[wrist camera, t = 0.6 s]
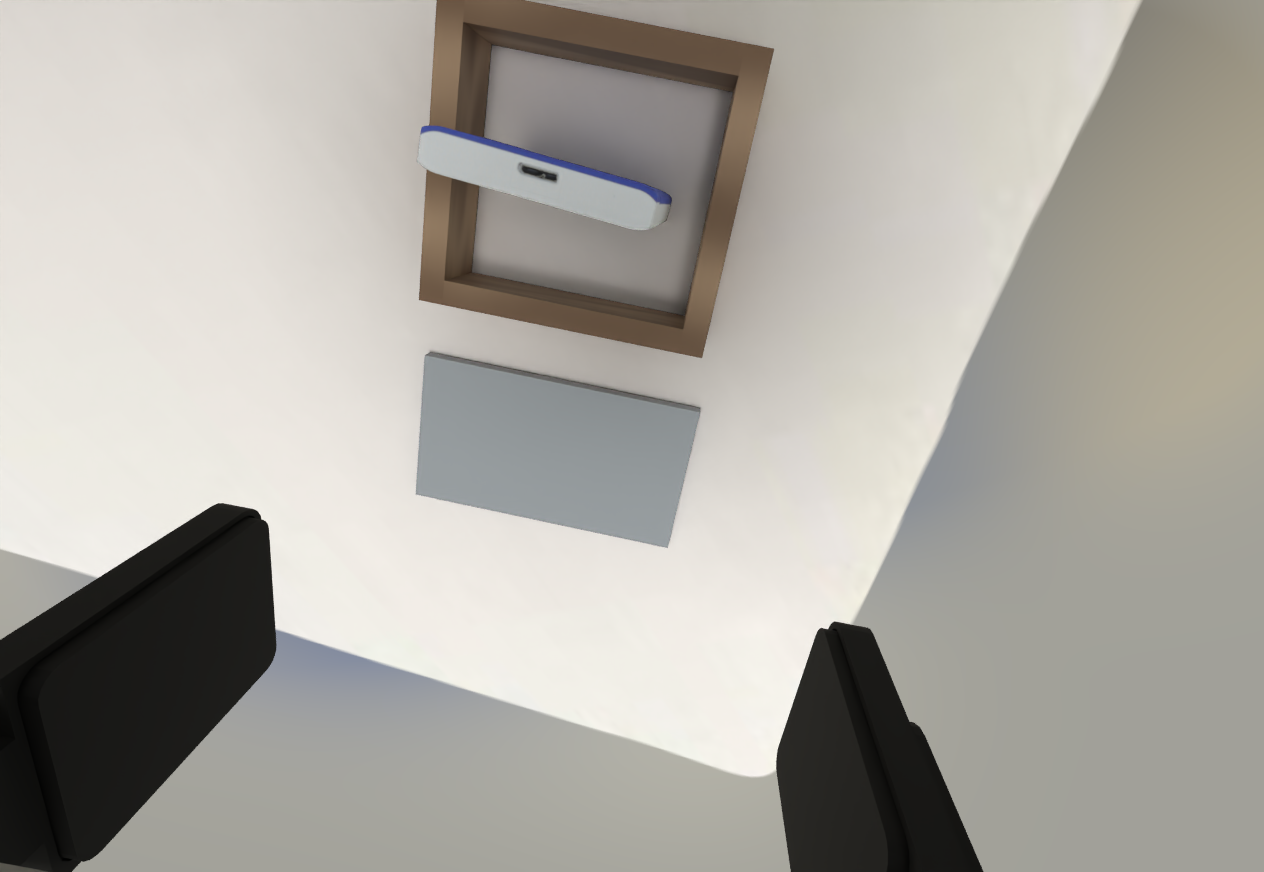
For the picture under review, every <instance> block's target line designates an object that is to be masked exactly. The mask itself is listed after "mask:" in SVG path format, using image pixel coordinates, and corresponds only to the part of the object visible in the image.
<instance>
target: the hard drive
mask: <svg viewBox="0 0 1264 872" xmlns="http://www.w3.org/2000/svg"><path fill="white" fill-rule="evenodd" d="M417 162H418V163H419V164H420V165H421V166H423V167H424V168H425V169H427V170H429V171H431V172H433V173H436V174H439V175H443V176H446V177H450V178H453V179H457V180H461V181H464V182H468V183H471V184H475V185H478V186H482V187H485V188H489V189H492V190H496V191H499V192H503V193H507V194H510V195H514V196H517V197H520V198H524V199H527V200H531V201H534V202H538V203H541V204H545V205H548V206H552V207H555V208H559V209H562V210H565V211H569V212H572V213H576V214H579V215H583V216H586V217H590V218H593V219H597V220H600V221H604V222H607V223H611V224H614V225H617V226H621V227H624V228H628V229H632V230H647V229H652V228H653V227H655V226H657V225H659V224H661V223H663V222H665V221H666V220H667V217H668V213H669V209H670V206H671V202H672V198H671V197H670V195H668V194H667V193H665V192H663V191H661V190H659V189H656V188H653V187H651V186H648V185H646V184H643V183H640V182H636V181H633V180H630V179H626V178H623V177H619V176H615V175H612V174H608V173H605V172H601V171H598V170H594V169H591V168H588V167H584V166H581V165H577V164H573V163H570V162H566V161H563V160H559V159H555V158H552V157H548V156H545V155H541V154H538V153H534V152H531V151H528V150H525V149H522V148H518V147H515V146H511V145H508V144H504V143H501V142H498V141H494V140H491V139H487V138H483V137H479V136H476V135H472V134H468V133H464V132H460V131H457V130H453V129H449V128H445V127H441V126H424V127H422V129H421V134H420V142H419V150H418V158H417Z"/></svg>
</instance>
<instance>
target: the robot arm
mask: <svg viewBox="0 0 1264 872" xmlns="http://www.w3.org/2000/svg"><path fill="white" fill-rule="evenodd" d="M275 652H276V632H275V617H274V601H273V586H272V570H271V555H270V540H269V528H268V524H267V523H266V521H264V520H261V516H260V514H259V513H258V511H256V510H254V509H250V508H245V507H239V506H234V505H229V504H224V503H218V504H216V505H214V506H212V507H210V508H208V509H207V510H205V511H204V512H202V513H200V514H199V515H197V516H196V517H194V518H193V519H191V520H189V521H188V522H186V523H185V524H183V525H181V526H180V527H178V528H177V529H175V530H174V531H172V532H170V533H169V534H167V535H166V536H164V537H162V538H161V539H159V540H158V541H156V542H155V543H153V544H151V545H150V546H148V547H147V548H145V549H143V550H142V551H140V552H139V553H137V554H136V555H134V556H132V557H131V558H129V559H128V560H126V561H124V562H123V563H121V564H120V565H118V566H117V567H115V568H113V569H112V570H110V571H109V572H107V573H105V574H104V575H102V576H101V577H99V578H98V579H96V580H94V581H93V582H91V583H90V584H88V585H86V586H85V587H83V588H82V589H80V590H79V591H77V592H75V593H74V594H72V595H71V596H69V597H68V598H66V599H64V600H63V601H61V602H60V603H58V604H56V605H55V606H53V607H52V608H50V609H49V610H47V611H46V612H44V613H42V614H41V615H39V616H37V617H36V618H34V619H33V620H31V621H29V622H28V623H26V624H25V625H23V626H22V627H20V628H18V629H17V630H15V631H14V632H12V633H11V634H9V635H7V636H6V637H5V638H3V639H2V640H0V872H72V871H73V870H74V869H75V867H76V866H77V865H78V864H79V863H80V862H81V861H83V862H84V861H87V860H90V859H92V858H93V857H95V856H96V855H97V854H98V853H99V852H100V851H102V850H103V849H104V847H105V846H106V845H107V844H108V843H109V842H110V841H111V840H112V839H113V838H114V837H115V835H116V834H117V833H118V832H119V831H120V830H121V829H122V828H123V827H124V826H125V824H126V823H127V822H128V821H129V820H130V819H131V818H132V817H133V816H134V815H135V813H136V812H137V811H138V810H139V809H140V808H141V807H142V806H143V805H144V804H145V803H146V802H147V800H148V799H149V798H150V797H151V796H152V795H153V794H154V793H155V792H156V791H157V789H158V788H159V787H160V786H161V785H162V784H163V783H164V782H165V781H166V780H167V778H168V777H169V776H170V775H171V774H172V773H173V772H174V771H175V770H176V769H177V768H178V766H179V765H180V764H181V763H182V762H183V761H184V760H185V759H186V758H187V757H188V755H189V754H190V753H191V752H192V751H193V750H194V749H195V748H196V746H198V744H199V743H200V742H201V741H202V740H203V739H204V738H205V737H206V736H207V735H208V734H209V732H210V731H211V730H212V729H213V728H214V727H215V726H216V725H217V724H218V723H219V722H220V720H221V719H222V718H223V717H224V716H225V715H226V714H227V713H228V712H229V711H230V710H231V709H232V707H233V706H234V705H235V704H236V703H237V702H238V701H239V700H240V699H241V698H242V696H243V695H244V694H245V693H246V692H247V691H248V690H249V689H250V688H251V686H252V685H253V684H254V683H255V682H256V681H257V680H258V679H259V678H260V677H261V676H262V675H263V673H264V672H265V671H266V670H267V669H268V667H269V666H270V665H271V663H272V661H273V658H274V656H275ZM776 769H777V777H778V785H779V792H780V798H781V806H782V812H783V820H784V826H785V833H786V841H787V848H788V854H789V861H790V869H791V872H983V870H982V867H981V865H980V863H979V860H978V858H977V856H976V854H975V851H974V849H973V846H972V844H971V842H970V840H969V838H968V835H967V833H966V830H965V828H964V826H963V823H962V821H961V819H960V816H959V814H958V812H957V809H956V807H955V805H954V802H953V800H952V798H951V795H950V793H949V791H948V789H947V786H946V784H945V782H944V779H943V777H942V775H941V772H940V770H939V767H938V765H937V763H936V761H935V758H934V756H933V754H932V751H931V749H930V747H929V744H928V742H927V740H926V737H925V735H924V734H923V732H922V730H921V729H920V727H919V726H918V725H916V724H915V723H913V722H909V720H908V717H907V715H906V712H905V710H904V708H903V705H902V703H901V700H900V698H899V695H898V693H897V691H896V688H895V686H894V683H893V681H892V678H891V676H890V674H889V671H888V669H887V666H886V664H885V661H884V659H883V657H882V654H881V652H880V649H879V647H878V645H877V642H876V640H875V637H874V635H873V633H872V632H871V630H870V629H868V628H866V627H861V626H855V625H850V624H845V623H840V622H833V623H832V624H831V625H830V627H829V629H823V628H820V629H819V630H818V632H817V634H816V636H815V639H814V642H813V645H812V648H811V651H810V654H809V657H808V660H807V663H806V666H805V669H804V672H803V675H802V678H801V681H800V684H799V687H798V690H797V693H796V696H795V699H794V702H793V705H792V708H791V711H790V714H789V717H788V720H787V723H786V726H785V729H784V732H783V735H782V738H781V741H780V744H779V747H778V752H777V761H776Z"/></svg>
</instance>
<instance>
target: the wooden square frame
mask: <svg viewBox="0 0 1264 872" xmlns="http://www.w3.org/2000/svg"><path fill="white" fill-rule="evenodd" d="M492 45H496V46H501V47H506V48H511V49H516V50H521V51H527V52H532V53H537V54H542V55H547V56H552V57H557V58H562V59H567V60H572V61H578V62H583V63H588V64H593V65H598V66H603V67H608V68H613V69H618V70H623V71H629V72H634V73H639V74H644V75H649V76H654V77H659V78H664V79H669V80H674V81H680V82H685V83H690V84H695V85H700V86H705V87H710V88H715V89H720V90H725V91H731V92H733V95H732V99H731V104H730V108H729V113H728V118H727V122H726V127H725V131H724V136H723V141H722V145H721V150H720V154H719V159H718V164H717V168H716V173H715V177H714V182H713V187H712V191H711V196H710V201H709V205H708V210H707V214H706V219H705V224H704V228H703V233H702V237H701V242H700V247H699V251H698V256H697V260H696V265H695V270H694V274H693V279H692V283H691V288H690V293H689V297H688V302H687V306H686V311H685V316H683V315H678V314H673V313H668V312H663V311H659V310H654V309H649V308H644V307H639V306H634V305H629V304H624V303H619V302H614V301H610V300H605V299H600V298H595V297H590V296H585V295H580V294H575V293H570V292H566V291H561V290H556V289H551V288H546V287H541V286H536V285H531V284H526V283H521V282H517V281H512V280H507V279H502V278H497V277H492V276H487V275H482V274H477V273H472V261H473V249H474V238H475V227H476V216H477V204H478V193H479V186H478V185H475V184H471V183H468V182H464V181H461V180H457V179H453V178H450V177H446V176H443V175H439V174H436V173H433V172H431V171H429V170H427V174H426V191H425V208H424V225H423V242H422V259H421V276H420V292H419V300H422V301H427V302H432V303H437V304H441V305H446V306H451V307H456V308H461V309H466V310H471V311H475V312H480V313H485V314H490V315H495V316H500V317H505V318H510V319H514V320H519V321H524V322H529V323H534V324H539V325H544V326H548V327H553V328H558V329H563V330H568V331H573V332H578V333H582V334H587V335H592V336H597V337H602V338H607V339H612V340H617V341H621V342H626V343H631V344H636V345H641V346H646V347H651V348H655V349H660V350H665V351H670V352H675V353H680V354H685V355H690V356H694V357H699V358H702V356H703V352H704V347H705V343H706V339H707V334H708V330H709V326H710V322H711V317H712V313H713V309H714V304H715V300H716V296H717V292H718V287H719V283H720V279H721V274H722V270H723V266H724V262H725V257H726V253H727V249H728V244H729V240H730V236H731V232H732V227H733V223H734V219H735V214H736V210H737V206H738V202H739V197H740V193H741V189H742V184H743V180H744V176H745V172H746V167H747V163H748V159H749V154H750V150H751V146H752V142H753V137H754V133H755V129H756V124H757V120H758V116H759V112H760V107H761V103H762V99H763V94H764V90H765V86H766V82H767V77H768V73H769V69H770V64H771V60H772V56H773V52H774V49H772V48H767V47H762V46H757V45H751V44H746V43H741V42H736V41H731V40H726V39H721V38H715V37H710V36H705V35H700V34H695V33H690V32H685V31H679V30H674V29H669V28H664V27H659V26H654V25H648V24H643V23H638V22H633V21H628V20H623V19H618V18H612V17H607V16H602V15H597V14H592V13H587V12H582V11H576V10H571V9H566V8H561V7H556V6H551V5H546V4H540V3H535V2H530V1H525V0H437V6H436V22H435V39H434V56H433V73H432V90H431V107H430V124H429V126H441V127H445V128H449V129H453V130H457V131H460V132H464V133H468V134H472V135H476V136H479V137H484V125H485V114H486V103H487V91H488V80H489V69H490V58H491V46H492Z"/></svg>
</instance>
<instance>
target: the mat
mask: <svg viewBox="0 0 1264 872" xmlns="http://www.w3.org/2000/svg"><path fill="white" fill-rule="evenodd" d="M699 415H700V408H697V407H692V406H687V405H682V404H678V403H673V402H668V401H663V400H658V399H654V398H649V397H644V396H639V395H634V394H629V393H625V392H620V391H615V390H610V389H605V388H601V387H596V386H591V385H586V384H581V383H576V382H572V381H567V380H562V379H557V378H552V377H547V376H543V375H538V374H533V373H528V372H523V371H519V370H514V369H509V368H504V367H499V366H494V365H490V364H485V363H480V362H475V361H470V360H465V359H461V358H456V357H451V356H446V355H441V354H437V353H432V352H430V353H428V354H426V355H425V360H424V375H423V391H422V406H421V422H420V437H419V452H418V468H417V483H416V494H417V495H421V496H426V497H431V498H435V499H440V500H445V501H449V502H454V503H459V504H464V505H468V506H473V507H478V508H482V509H487V510H492V511H497V512H501V513H506V514H511V515H515V516H520V517H525V518H529V519H534V520H539V521H544V522H548V523H553V524H558V525H562V526H567V527H572V528H577V529H581V530H586V531H591V532H595V533H600V534H605V535H609V536H614V537H619V538H624V539H628V540H633V541H638V542H642V543H647V544H652V545H657V546H661V547H666V548H668V544H669V540H670V536H671V531H672V527H673V523H674V519H675V515H676V511H677V506H678V502H679V498H680V494H681V490H682V486H683V481H684V477H685V473H686V469H687V465H688V461H689V456H690V452H691V448H692V444H693V440H694V436H695V431H696V427H697V423H698V419H699Z"/></svg>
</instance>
